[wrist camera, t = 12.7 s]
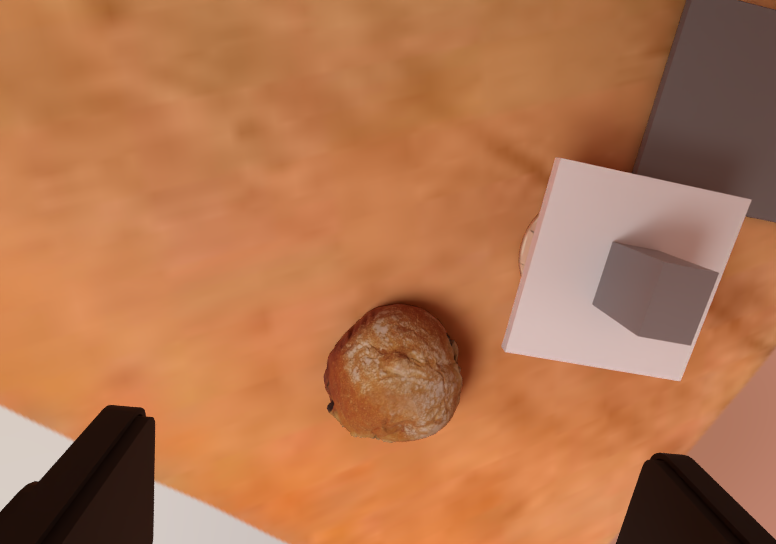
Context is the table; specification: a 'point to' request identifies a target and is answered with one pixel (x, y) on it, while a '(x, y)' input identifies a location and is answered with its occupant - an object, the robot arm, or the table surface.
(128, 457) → the robot arm
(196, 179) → the table surface
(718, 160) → the mat
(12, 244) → the table surface
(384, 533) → the table surface
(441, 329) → the bread roll
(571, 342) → the lid
